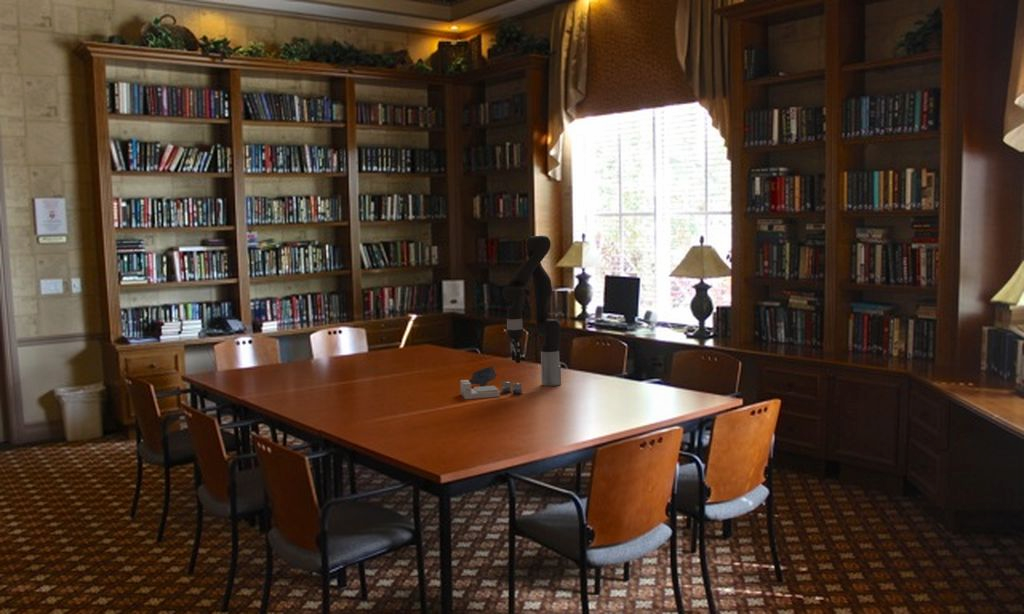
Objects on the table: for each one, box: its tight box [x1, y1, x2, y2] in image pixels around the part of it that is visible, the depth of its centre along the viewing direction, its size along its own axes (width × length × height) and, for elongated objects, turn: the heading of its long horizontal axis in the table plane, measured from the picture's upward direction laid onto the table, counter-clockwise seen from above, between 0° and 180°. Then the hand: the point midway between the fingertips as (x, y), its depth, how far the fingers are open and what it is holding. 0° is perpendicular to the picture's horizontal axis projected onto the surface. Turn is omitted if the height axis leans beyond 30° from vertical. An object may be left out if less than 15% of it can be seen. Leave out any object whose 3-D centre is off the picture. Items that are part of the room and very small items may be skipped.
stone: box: [468, 365, 498, 387], centre depth 458 cm, size 14×6×10 cm, turn 117°
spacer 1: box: [501, 381, 512, 394], centre depth 439 cm, size 4×4×5 cm
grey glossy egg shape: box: [511, 382, 523, 396], centre depth 434 cm, size 4×4×5 cm
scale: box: [460, 379, 501, 400], centre depth 434 cm, size 17×13×7 cm
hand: (516, 361), depth 433 cm, fingers open, 8 cm apart
